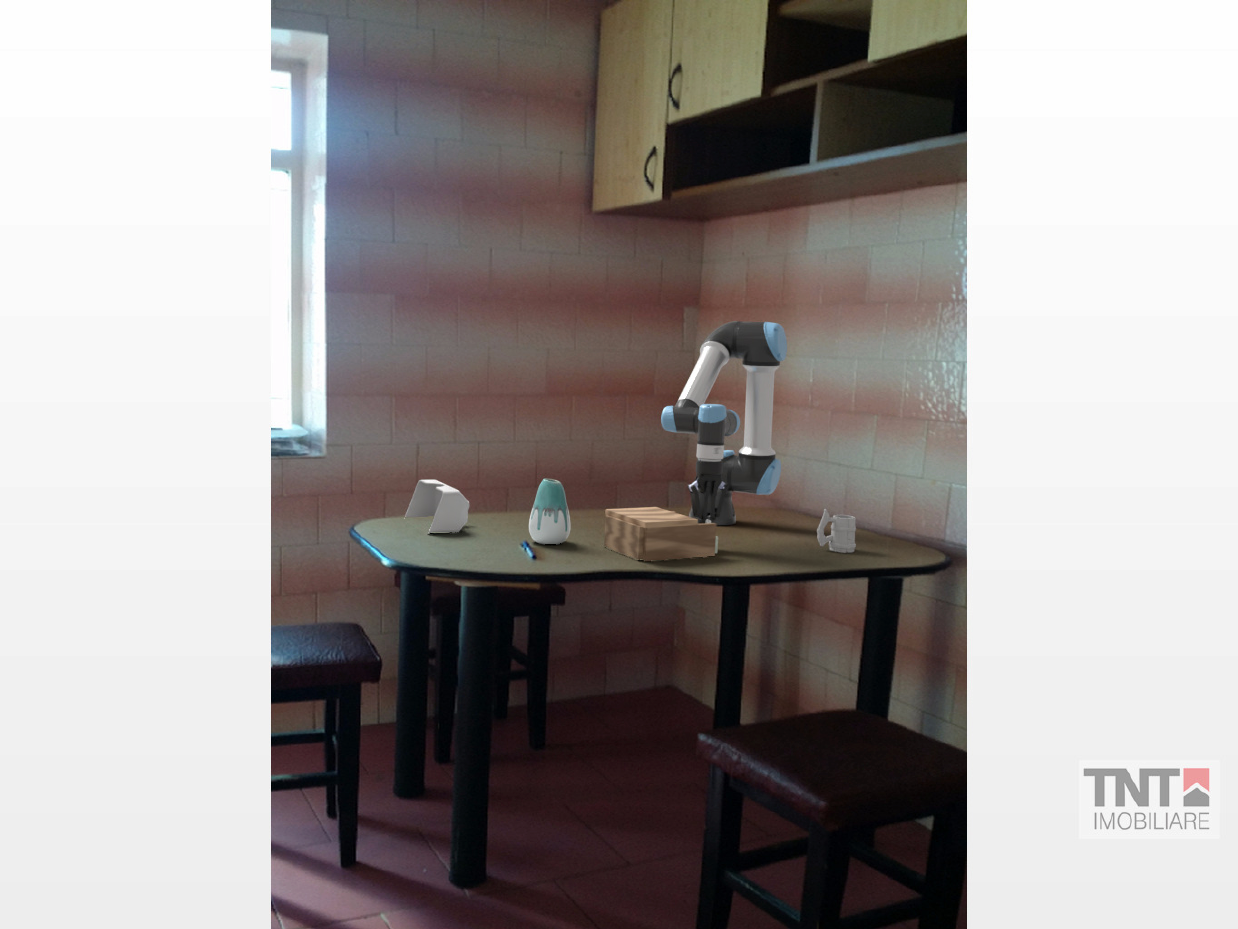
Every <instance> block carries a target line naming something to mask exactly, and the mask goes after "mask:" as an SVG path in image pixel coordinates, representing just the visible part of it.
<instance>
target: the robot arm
mask: <svg viewBox="0 0 1238 929" xmlns="http://www.w3.org/2000/svg"><path fill="white" fill-rule="evenodd" d="M787 341H788V340H787V335H786V332H785V329H784V327H783V326H782V325H781V324H780V323H777V322H769V321H740V320H733V321H729V322H726V323H723V324H722V325H720V326H718V327H717V328H715V329H714V330H713V331H712V332H711V333H709V335H708V336H707V337H706V338H705V340H704V341H703V342H702V344H701V347H699V348H700V349H699V357H698V359H697V362H696V363H695V365H694V367H693V370H692V372H691V373H690V376H689V378H688V380H687V382H686V383H685V385H684V387H683V389H682V391H681V393H680V395H679V398H678V400H676V401H677V402H676V404H675V405H667V406H665V407H663V410H662V412H661V418H660V421H661V422H660V423H661V427H662V428H663V430H665V431H667V432H672V433H681V434H694V435H697V441H696V443H697V444H696V455H695V456H696V458H697V460H696V461H695V472H696V476H695V478H694V481H693V482H692V483H691V484H690V483H689V484H687V490H688V491H689V494H690V501H691V502H690V503H691V508H690V510H689V513H688V517H691V518H694V519H698V524H704V523H715V524H717V525H716V526H729V525H734V524H736V521H737V519H736V518H737V516H736V511H735V508H734V504H733V501H732V499H733V498H732V496H733V495H732V494H733V492H735V493H742V494H743V493H746V494H754V495H757V496H759V495H765V496H769V495H771V494H773V493H774V492H775V490H776V488H777V487H778V485H779V482H780V478H781V473H782V461H781V460H780V459H779V458H776V455H777V454H776V451H775V450H774V449H773V448H772V433H773V432H772V431H773V413H774V412H773V411H774V390H775V389H774V388H775V387H774V386H775V372H776V371H777V370H778V369H779V368H780V367H781V362H783V361H785V359H786V358H787V352H788V342H787ZM731 359H739V360H740V359H741V360H742V364H741V365H742V367H743V368H744V369H745V370H746V385H745V386H746V388H745V389H746V390H745V407H744V408H745V409H744V410H745V411H744V432H743V433H744V436H743V446H742V447H741V448H740V449H739V450H738V455H737V454H736V453H735V451H734V450H733V449H726V450H725V438H726V437H729V436H731V435H734V434H735V433H737V432H738V430H739V428H740V426H741V419H740V416H739V414H738V413H737V412H736V411H734V410H732V409H727V407H726V406H725V405H723V404H716V403H706V400H707V399H708V397H709V394H710V393H711V390H712V389H713V387H714V384H715V382H716V380H717V378H718V376H719V373H720V371H721V369H722V368H723V366H725V365H727V363H729V360H731Z"/></svg>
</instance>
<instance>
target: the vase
mask: <svg viewBox="0 0 1238 929" xmlns="http://www.w3.org/2000/svg"><path fill="white" fill-rule="evenodd" d="M534 499H535V500H534V502H533V506H532V508H531V512H530V516H529V520H528V532H529V534H530V537H531V539H532V540H533V541H534V542H536V543H538V544H540V545H545V544H556V545H561V544H563V543H564V542H565V541H566V540H568V537H569V536H570V532H571V516H570V512H569V507H568V504H567V499H566V492H565V489H564V486H563V483H562V482H561V481H559V480H556V479H553V478H543V479H542V481H541V483H540V484H539V486H538V489H537V491H536V495H535V498H534ZM560 543H561V544H560Z"/></svg>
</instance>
